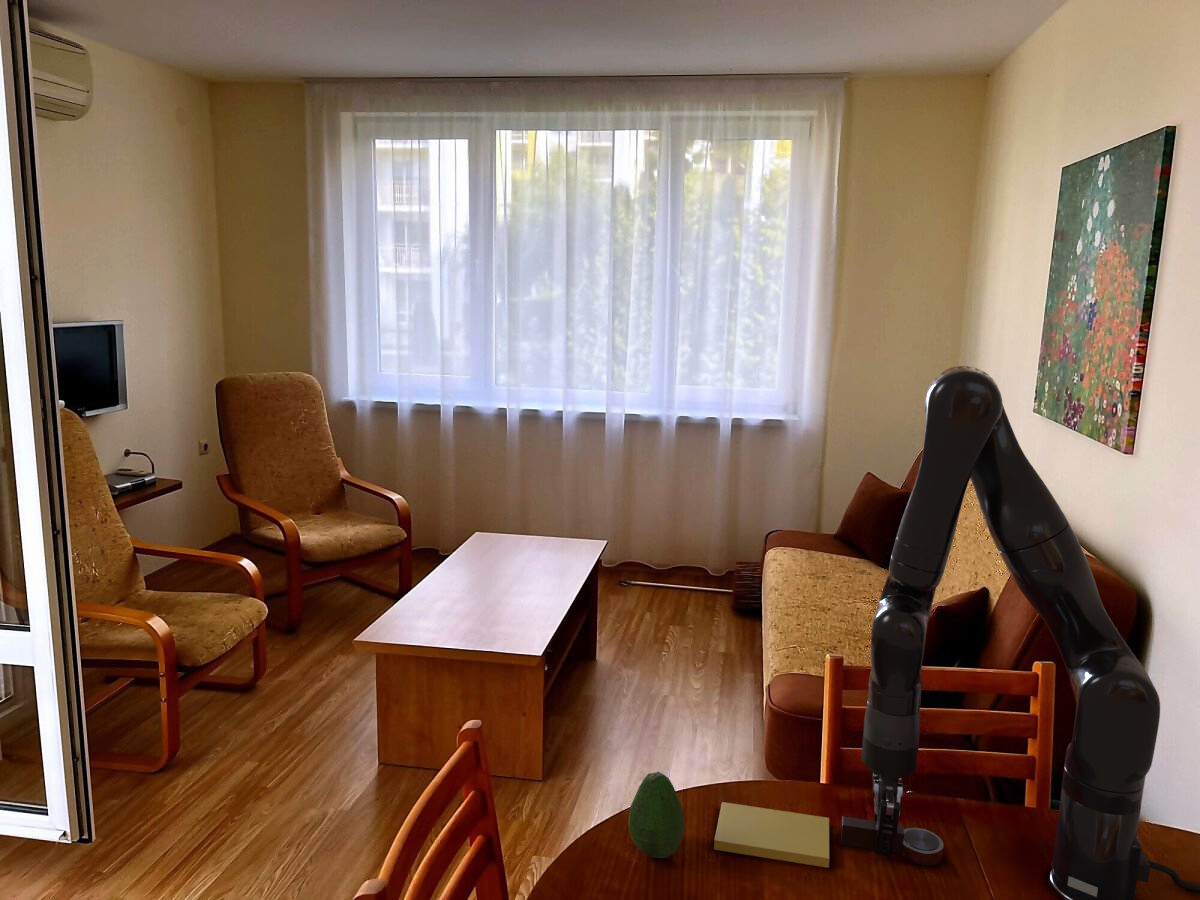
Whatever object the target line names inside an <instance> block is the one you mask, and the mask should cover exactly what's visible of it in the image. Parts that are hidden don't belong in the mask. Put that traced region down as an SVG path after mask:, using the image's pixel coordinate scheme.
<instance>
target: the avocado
mask: <svg viewBox="0 0 1200 900" xmlns="http://www.w3.org/2000/svg"><path fill="white" fill-rule="evenodd" d="M628 814H629V815H628V821H627V824H628V832H629V835H630V838H631V840H632V842H633V843H634V845H635V847H636V849H638V851H640V852H641V853H643V854H645V855H647V856H649V857H651V858H653V859H667V858H668V857H670V856H672V855H674V854H675V853H676V852H677V851H678V849H679V847H680V846H681V844H682V841H683V837H684V835H685V831H686V822H685V814H684V810H683V807H682V803H681V801H680V798H679V796H678V794H677V792H676V788H675V787H674V785H673V783H672V781H671V780H670V778H669V777H668V776H667V775H665V774H664V773H662V772H661V771H656V772H651V773H647V774H646V776H645V777H644V778H643V780H642V781H641V783H640V785H639V786H638V789H637V790H636V793H635V795H634V797H633V799H632V802H631V804H630V806H629V813H628Z"/></svg>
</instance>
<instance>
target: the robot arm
mask: <svg viewBox="0 0 1200 900" xmlns="http://www.w3.org/2000/svg"><path fill="white" fill-rule="evenodd" d="M926 391H927V392H926V395H925V398H924V399H925V400H924V411H925V415H926V419H925V429H924V441H923V447H922V453H921V459H920V463H919V468H918V472H917V476H916V478H915V481H914V485H913V488H912V491H911V494H910V495H909V499H908V500H907V503H906V506H905V509H904V512H903V515H902V518H901V520H900V524H899V527H898V529H897V530H898V531H897V533H896V537H895V540H894V544H893V548H892V552H891V556H890V559H889V565H888V574H887V576H886V580H885V583H884V584H883V585H884V586H883V589H882V591H881V593H880V597H879V601H878V603H877V607H876V610H875V613H874V617H873V619H872V624H871V634H870V663H871V664H870V665H871V669H870V673H869V678H868V679H869V680H868V692H867V703H866V707H865V711H864V719H863V732H862V733H863V734H862V745H861V762H862V764H863V766H865V767H866V768H867V769H868V770H870V771H871V782H872V788H871V789H872V797H874V798H873V812H874V814H873V815H874V816H873V821H876V822H877V825H876V829H877V836H876V848H875V849H876V850H875V854H876V855H877V856H881V857H889V858H890V857H892V855H893V853H892V848H893V837H896V835H897V827H898V825H899V818H900V815H901V809H902V806H901V798H902V797H903V796H904V795H903V794H904V787H903V786H904V784H903V783H902V778H905V777H909V776H912V775H913V774H914V773H915V772H916V771H917V768H918V757H919V747H920V736H921V702H922V692H923V691H922V690H923V689H922V687H923V679H922V678H923V677H922V667H923V660H924V656H925V655H924V654H925V647H926V640H927V632H928V625H929V619H930V615H931V611H932V605H933V603H934V599H935V594H936V590H937V588H938V586H939V585H940V583H941V581H942V578H943V575H944V573H945V570H946V566H947V563H948V560H949V555H950V554H951V553H950V552H951V549H952V547H953V542H954V538H955V534H956V531H957V526H958V522H959V517H960V514H961V510H962V506H963V502H964V499H965V494H966V491H967V488H968V485H969V482H970V481H971V484H972V486H973V489H974V493H975V496H976V499H977V502H978V504H979V507H980V511H981V514H982V516H983V519H984V521H985V524H986V527H987V529H988V532H989V533H990V537H991V539H992V541H993V544H994V545H995V548H996V549H997V552H998V554H999V556H1000V557H1001V559H1002V561H1003V563H1004V565H1005V567H1006V568H1007V571H1008V573H1009V574H1010V576H1011V577H1012V579H1013V581H1014V583H1015V584H1016V585H1017V587H1018V589H1019V590H1020V592H1021V593H1022V594H1023V596H1024V597H1025V598H1026V600H1027V601H1028V603H1029V604H1030V605H1031V606H1032V608H1033V609H1034V610H1035V612H1036V613H1037V614H1038V615H1039V616H1040V618H1041V619H1042V621H1043V622H1044V624H1045V625H1046V627H1047V628H1048V630H1049V632H1050V634H1051V635H1052V637H1053V640H1054V642H1055V644H1056V646H1057V649H1058V651H1059V654H1060V656H1061V659H1062V661H1063V664H1064V666H1065V669H1066V672H1067V675H1068V678H1069V679H1068V680H1069V682H1070V686H1071V690H1072V693H1073V696H1074V699H1075V702H1076V703H1075V714H1074V723H1073V731H1072V737H1071V742H1070V743H1069V744H1068V745H1067V747H1066V750H1065V756H1064V757H1065V758H1064V764H1063V765H1064V766H1063V772H1062V773H1063V774H1062V783H1061V790H1060V799H1059V807H1058V815H1057V824H1056V831H1055V840H1054V849H1053V857H1052V863H1051V871H1050V875H1049V883H1050V885H1051V888H1052V889H1053V891H1054V892H1055V893H1056V894H1057V895H1058V896H1059V897H1060V898H1062V899H1063V900H1136V893H1137V885H1138V882H1143V883H1149V878H1150V872H1151V869H1153V870H1156V871H1159V872H1162V873H1164V874H1166V875H1168V876H1170V878H1171V880H1172V882H1173V883H1174V885H1176V886H1177V887H1180V888H1183V889H1185V890H1190V891H1194V892H1200V884H1195V883H1191V882H1188V881H1185V880H1182V879H1181V878H1180V877H1179V875H1178V873H1177V872H1176V871H1175V870H1174V869H1172V868H1171V867H1168V866H1166V865H1164V864H1161V863H1158V862H1155V861H1152V860H1148V859H1147V857H1146V855H1145V853H1144V852H1143V850H1142V849H1143V845H1142V843H1141V841H1140V840H1139V838H1138V833H1139V826H1140V818H1141V812H1142V811H1141V810H1142V804H1143V795H1144V789H1145V783H1146V778H1147V777H1146V776H1147V775H1148V773H1149V772H1150V770H1151V767H1152V765H1153V761H1154V755H1155V750H1156V743H1157V737H1158V731H1159V725H1160V719H1161V701H1160V695H1159V693H1158V690H1157V689H1156V687H1155V685H1154V683H1153V682H1152V679H1151V678H1150V676H1149V674H1148V672H1147V671H1146V669H1145V667H1144V666H1143V665H1142V663H1141V662H1140V661H1139V659H1138V658H1137V657H1136V655H1135V654H1134V653H1133V651H1132V650H1131V648H1130V647H1129V645H1128V644H1127V642H1126V641H1125V639H1124V638H1123V636H1122V635H1121V634H1120V632H1119V630H1118V628H1117V627H1116V626H1115V624H1114V623H1113V621H1112V620H1111V618H1110V616H1109V614H1108V613H1107V610H1106V609H1105V606H1104V604H1103V602H1102V599H1101V597H1100V593H1099V589H1098V587H1097V584H1096V580H1095V577H1094V574H1093V572H1092V569H1091V566H1090V564H1089V561H1088V559H1087V557H1086V554H1085V552H1084V549H1083V547H1082V545H1081V543H1080V541H1079V539H1078V537H1077V536H1076V534H1075V532H1074V530H1073V528H1072V526H1071V524H1070V522H1069V520H1068V519H1067V517H1066V515H1065V513H1064V512H1063V510H1062V509H1061V507H1060V505H1059V504H1058V502H1057V500H1056V499H1055V497H1054V495H1053V494H1052V493H1051V491H1050V490H1049V488H1048V487H1047V485H1046V483H1045V482H1044V480H1043V479H1042V477H1041V476H1040V475H1039V474H1038V472H1037V471H1036V469H1035V468H1034V466H1033V465H1032V464H1031V462H1030V461H1029V459H1028V458H1027V456H1026V455H1025V453H1024V451H1023V448H1022V447H1021V445H1020V443H1019V441H1018V439H1017V437H1016V434H1015V432H1014V429H1013V427H1012V425H1011V422H1010V420H1009V418H1008V414H1007V412H1006V410H1005V407H1004V404H1003V398H1002V393H1001V391H1000V388H999V386H998V385H997V383H996V381H995V380H994V378H993V377H992V376H990V375H989V373H987V372H986V371H984V370H982V369H980V368H977V367H974V366H969V365H956V366H952V367H951V366H950V367H949V368H947V369H945V370H942V372H940V373H939V374H938V375H936V376H935V377H934V379H933V380H932V381H931V383H930V385H929V387H928V388H927V390H926Z"/></svg>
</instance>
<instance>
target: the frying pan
mask: <svg viewBox="0 0 1200 900" xmlns="http://www.w3.org/2000/svg"><path fill="white" fill-rule="evenodd" d="M876 825H877V822H876V821H874V820H869V819H862V818H854V817H847V816H841V831H840V845H841V846H847V847H853V848H859V849H865V850H873V851H876V849H875V848H876V836H877V829H876ZM944 847H945V844H944V841H943V840H942V838H941V837H940V836H939V835H937V834H936V833H935V832H932V831H931V830H928V829H926V828H922V827H908V828H905V829H904V825H902V824H898V827H897V835H896V837H893V848H892V854H899V855H901V857H903V858H904V859H905V860H907V861H908V862H910V863H913V864H915V865H918V866H919V865H920V866H924V867H925V866H926V867H930V866H931V867H932V866H936V865H939V864H940V863H941V862H942V861H943V856H944Z"/></svg>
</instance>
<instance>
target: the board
mask: <svg viewBox="0 0 1200 900" xmlns="http://www.w3.org/2000/svg"><path fill="white" fill-rule="evenodd" d="M713 849H714V851H721V852H727V853H734V854H739V855H746V856H752V857H759V858H764V859H772V860H778V861H782V862H790V863H795V864H801V865H808V866H815V867H821V868H828V869H829V868H830V817H825V816H819V815H812V814H805V813H799V812H794V811H793V812H792V811H785V810H779V809H772V808H766V807H759V806H752V805H745V804H738V803H731V802H724V801H722V802H721V805H720V810H719V815H718V821H717V826H716V831H715V835H714V843H713Z"/></svg>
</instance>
